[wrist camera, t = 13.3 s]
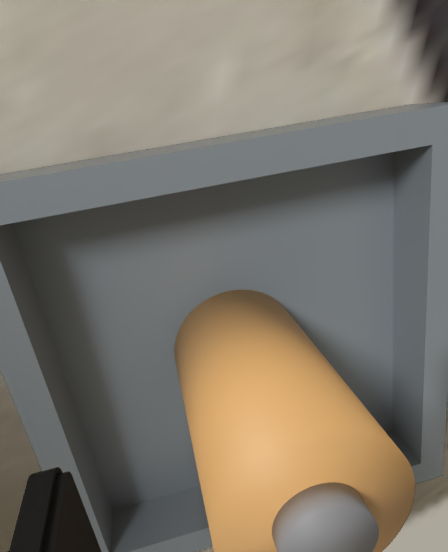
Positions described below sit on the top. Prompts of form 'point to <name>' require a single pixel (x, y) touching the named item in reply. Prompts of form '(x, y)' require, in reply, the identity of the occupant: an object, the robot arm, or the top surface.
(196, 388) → the battery cell
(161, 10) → the top surface
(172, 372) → the tray
